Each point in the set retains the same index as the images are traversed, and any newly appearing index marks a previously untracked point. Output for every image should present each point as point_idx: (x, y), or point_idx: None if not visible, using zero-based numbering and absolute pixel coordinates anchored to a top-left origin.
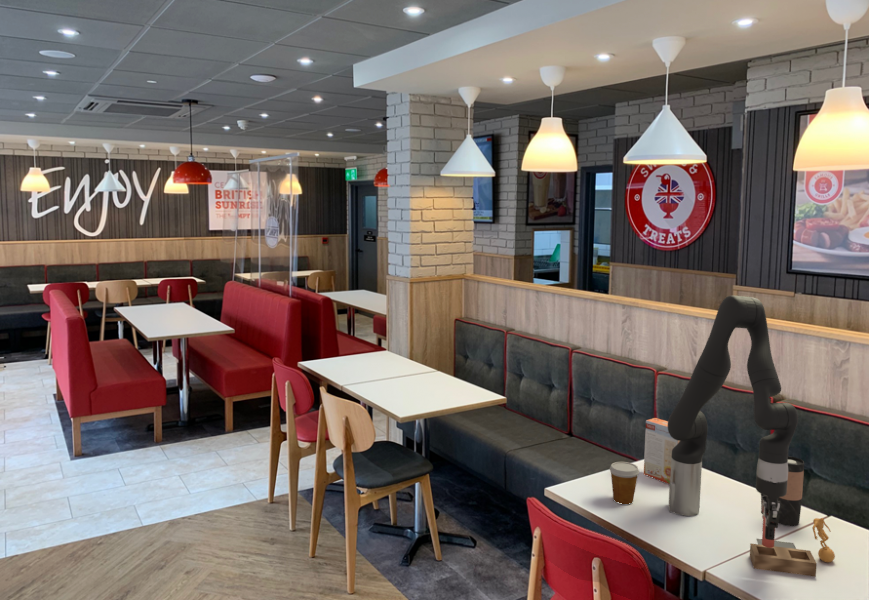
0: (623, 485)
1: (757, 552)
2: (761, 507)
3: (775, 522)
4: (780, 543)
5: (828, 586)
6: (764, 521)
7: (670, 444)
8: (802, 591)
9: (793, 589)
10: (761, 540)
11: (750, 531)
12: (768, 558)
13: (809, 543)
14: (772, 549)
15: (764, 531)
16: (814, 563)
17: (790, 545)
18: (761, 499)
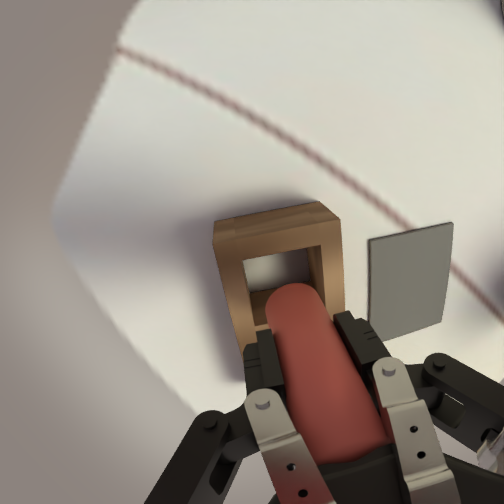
0: None
1: (253, 253)
2: (420, 418)
3: (225, 470)
4: (435, 293)
5: (219, 402)
6: (310, 388)
7: None
8: (148, 356)
9: (144, 337)
10: (444, 240)
11: (489, 206)
12: (226, 295)
13: (444, 348)
14: (323, 303)
15: (289, 342)
16: None
17: (427, 317)
18: (437, 494)
